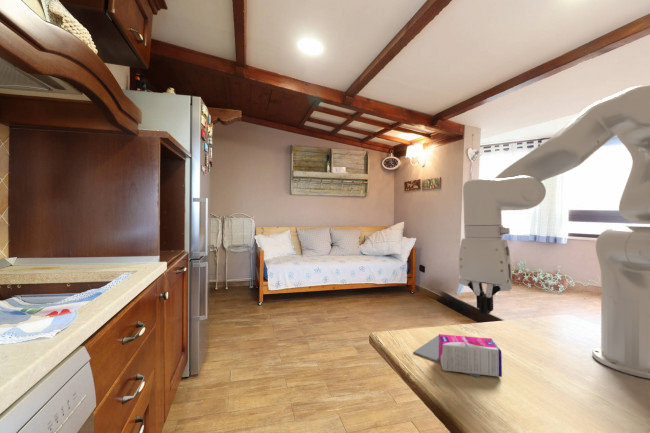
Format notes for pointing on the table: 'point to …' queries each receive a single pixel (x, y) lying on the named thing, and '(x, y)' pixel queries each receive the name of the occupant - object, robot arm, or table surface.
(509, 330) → the table surface
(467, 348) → the supplement box
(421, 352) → the mat
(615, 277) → the robot arm
